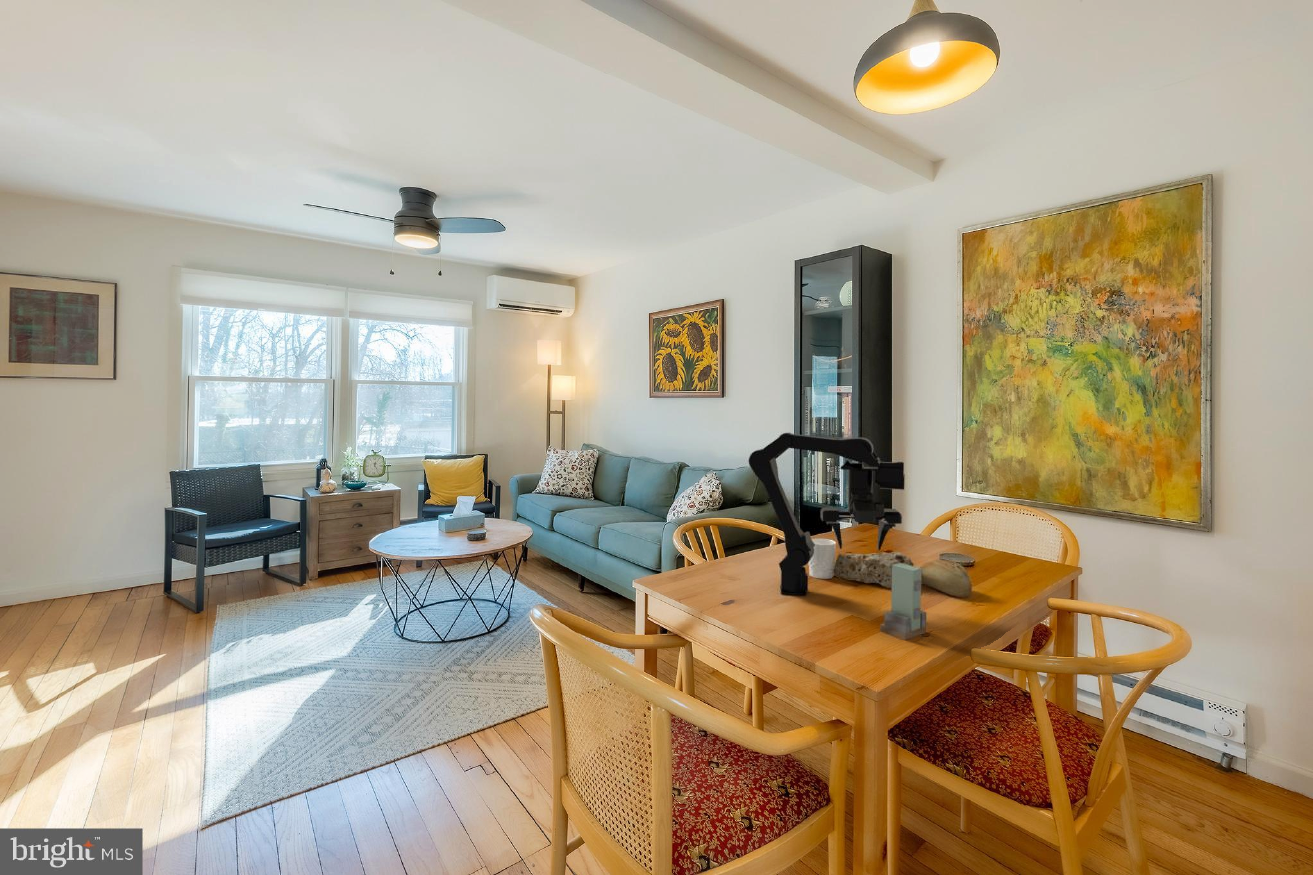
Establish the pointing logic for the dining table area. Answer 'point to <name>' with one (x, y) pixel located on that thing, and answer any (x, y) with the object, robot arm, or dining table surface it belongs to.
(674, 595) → the dining table surface
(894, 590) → the pale green tall block
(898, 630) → the hinge jig
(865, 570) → the rock
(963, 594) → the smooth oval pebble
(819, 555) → the white cup
